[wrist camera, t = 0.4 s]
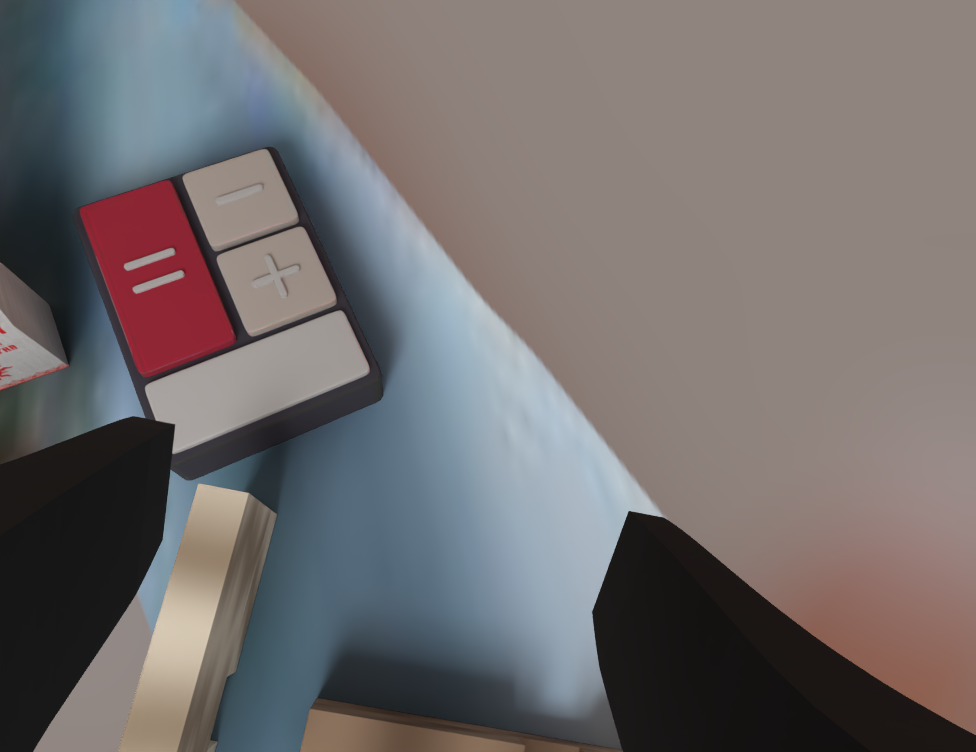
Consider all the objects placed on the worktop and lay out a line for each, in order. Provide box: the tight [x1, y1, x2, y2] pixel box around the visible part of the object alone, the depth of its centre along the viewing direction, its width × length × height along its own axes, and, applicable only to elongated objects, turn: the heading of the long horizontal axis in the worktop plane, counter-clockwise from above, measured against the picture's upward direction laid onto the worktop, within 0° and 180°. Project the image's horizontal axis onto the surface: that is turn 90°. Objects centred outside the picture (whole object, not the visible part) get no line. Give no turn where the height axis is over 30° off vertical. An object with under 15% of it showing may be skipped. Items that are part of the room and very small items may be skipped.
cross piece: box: [118, 484, 277, 752], centre depth 30 cm, size 18×2×8 cm, turn 170°
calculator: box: [73, 147, 383, 480], centre depth 38 cm, size 11×4×15 cm
